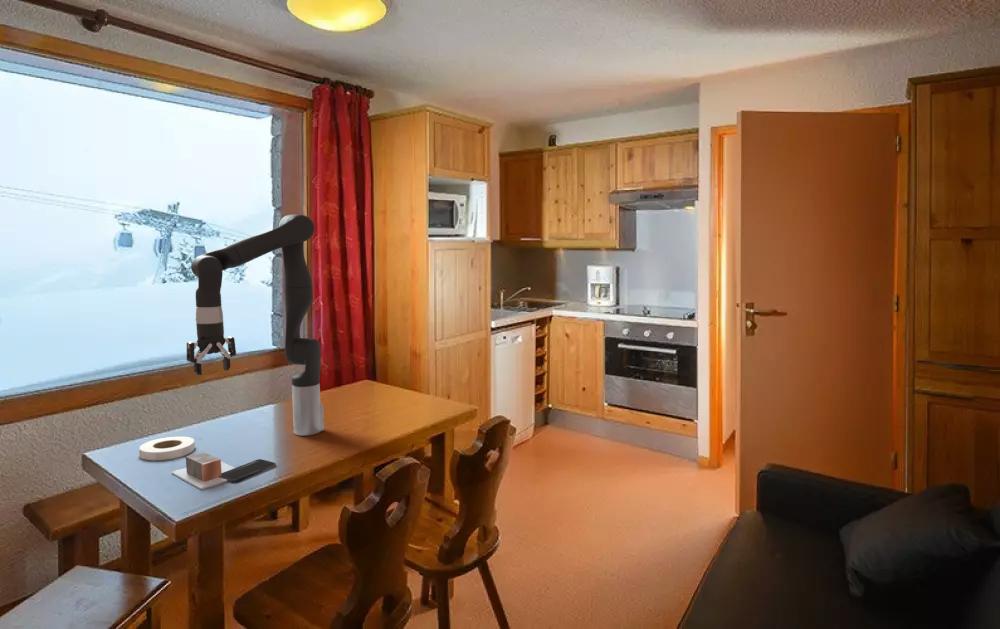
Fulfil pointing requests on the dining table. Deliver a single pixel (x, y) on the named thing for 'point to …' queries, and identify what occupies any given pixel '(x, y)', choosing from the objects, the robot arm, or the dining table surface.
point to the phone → (247, 470)
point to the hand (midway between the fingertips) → (212, 372)
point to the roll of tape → (166, 448)
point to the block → (203, 466)
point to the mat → (198, 483)
